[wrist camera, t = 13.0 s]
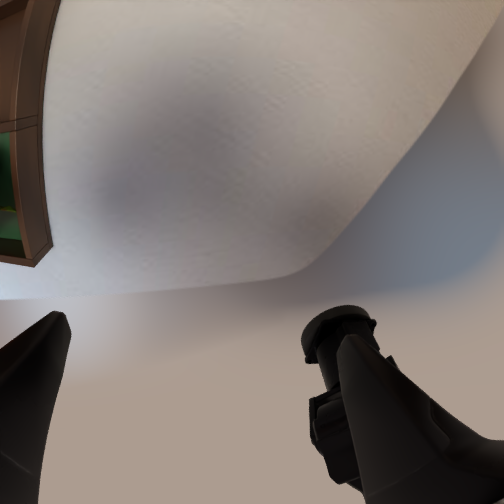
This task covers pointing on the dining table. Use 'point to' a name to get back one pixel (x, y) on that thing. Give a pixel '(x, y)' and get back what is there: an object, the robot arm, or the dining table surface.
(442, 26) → the dining table surface
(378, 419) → the robot arm
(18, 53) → the four compartment tray
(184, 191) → the dining table surface
